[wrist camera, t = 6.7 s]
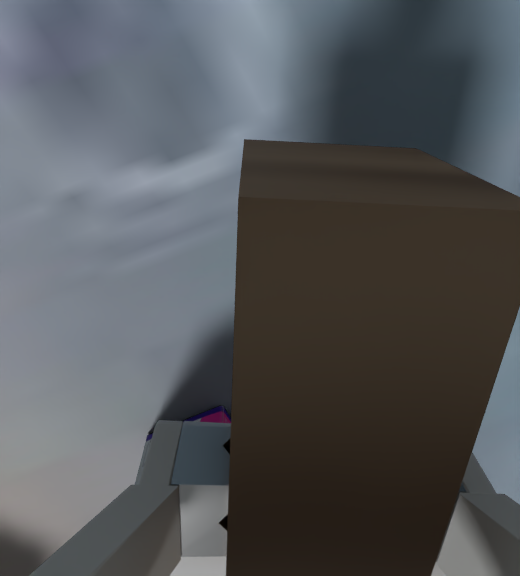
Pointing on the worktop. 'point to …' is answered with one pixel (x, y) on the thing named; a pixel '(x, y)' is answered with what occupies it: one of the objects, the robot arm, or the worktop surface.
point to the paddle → (359, 355)
